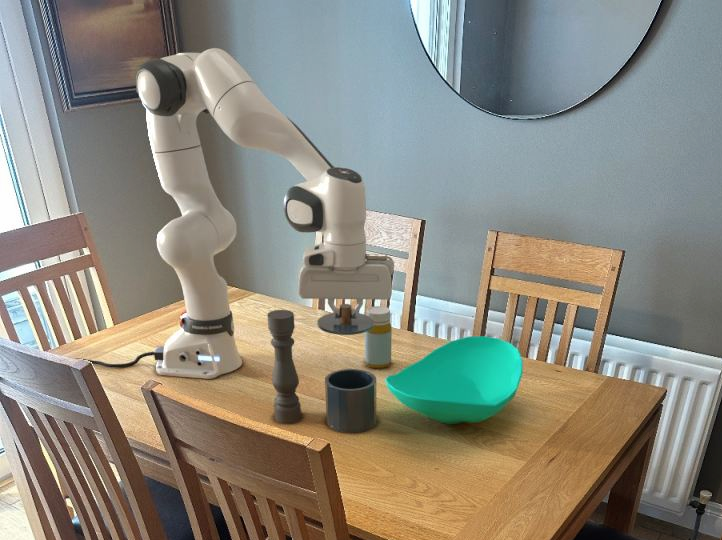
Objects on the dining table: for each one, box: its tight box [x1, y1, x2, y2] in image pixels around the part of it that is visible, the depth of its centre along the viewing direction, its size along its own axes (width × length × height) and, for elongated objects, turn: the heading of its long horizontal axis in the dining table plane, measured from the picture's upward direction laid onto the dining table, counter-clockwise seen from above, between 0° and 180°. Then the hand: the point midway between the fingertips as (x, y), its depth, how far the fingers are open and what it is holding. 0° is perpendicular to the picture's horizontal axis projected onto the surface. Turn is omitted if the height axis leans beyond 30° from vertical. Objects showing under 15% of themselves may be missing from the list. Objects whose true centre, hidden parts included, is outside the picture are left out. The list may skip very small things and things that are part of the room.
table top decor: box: [384, 335, 524, 425], centre depth 170 cm, size 40×28×13 cm
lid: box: [316, 303, 374, 336], centre depth 161 cm, size 13×13×5 cm
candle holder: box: [266, 309, 302, 425], centre depth 165 cm, size 6×6×25 cm
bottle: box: [364, 305, 393, 369], centre depth 194 cm, size 7×7×15 cm
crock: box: [324, 368, 377, 434], centre depth 168 cm, size 12×12×11 cm
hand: (345, 317), depth 161 cm, fingers closed on lid, 2 cm apart
